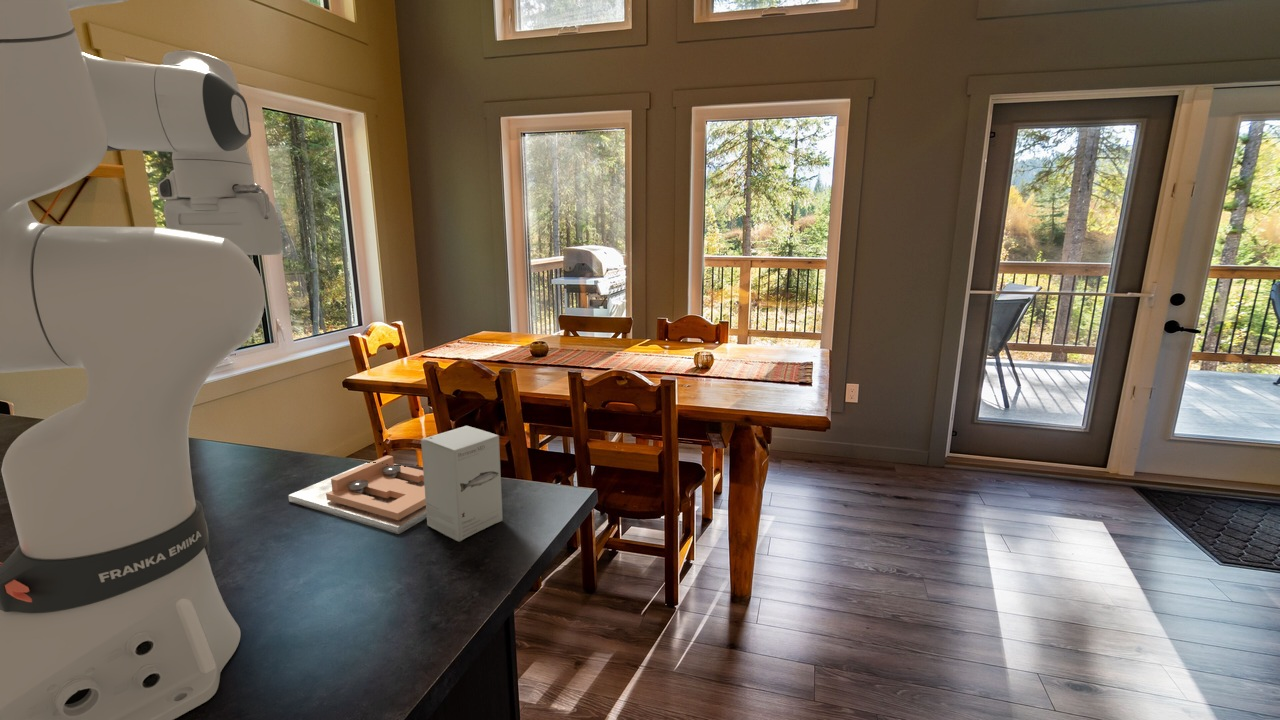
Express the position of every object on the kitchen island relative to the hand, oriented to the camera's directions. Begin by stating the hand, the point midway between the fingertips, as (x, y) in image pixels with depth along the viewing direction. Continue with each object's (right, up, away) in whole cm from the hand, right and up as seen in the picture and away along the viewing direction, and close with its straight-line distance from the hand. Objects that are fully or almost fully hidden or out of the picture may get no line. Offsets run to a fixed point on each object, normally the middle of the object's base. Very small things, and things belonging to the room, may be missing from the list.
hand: (231, 286), depth 81 cm
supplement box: (+35, -33, -4) cm, 48 cm away
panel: (+22, -30, +3) cm, 38 cm away
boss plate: (+20, -31, +4) cm, 37 cm away
